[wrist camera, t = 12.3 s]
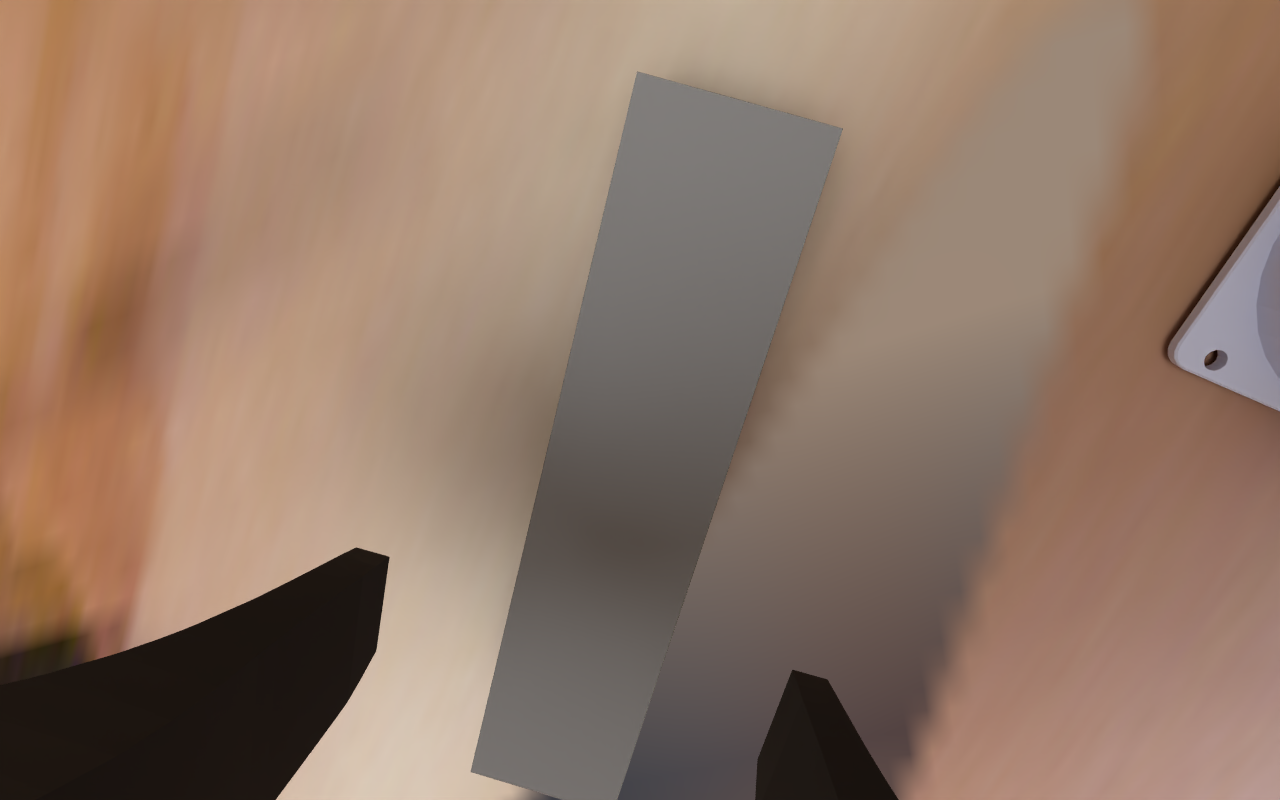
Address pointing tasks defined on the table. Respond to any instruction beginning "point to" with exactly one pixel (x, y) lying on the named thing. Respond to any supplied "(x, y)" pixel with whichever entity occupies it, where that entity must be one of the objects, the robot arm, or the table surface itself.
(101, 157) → the table surface
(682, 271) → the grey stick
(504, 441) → the table surface
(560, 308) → the table surface
